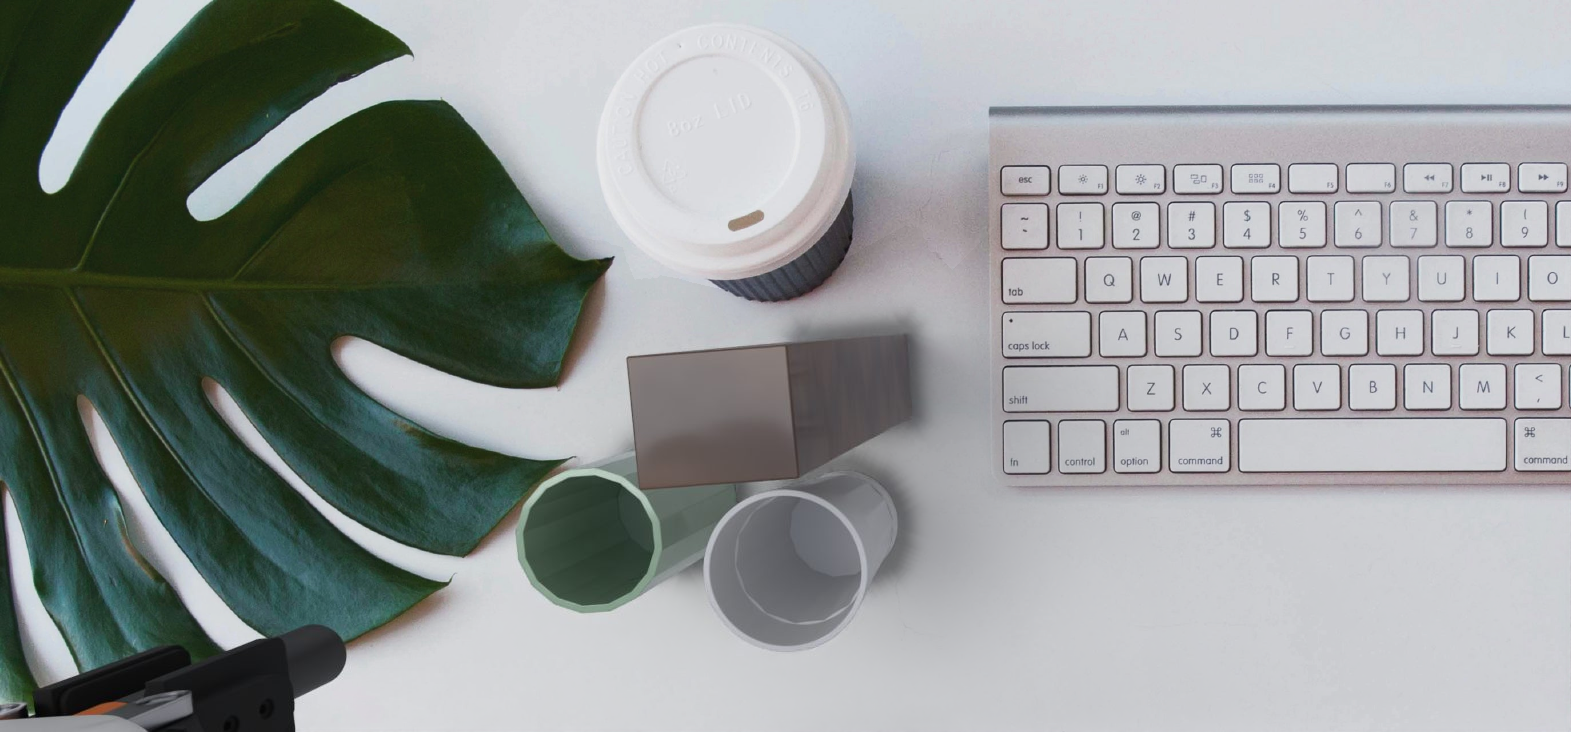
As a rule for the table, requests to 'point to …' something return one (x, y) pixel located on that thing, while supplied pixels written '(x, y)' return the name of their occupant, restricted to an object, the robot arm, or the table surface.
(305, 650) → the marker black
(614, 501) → the glass
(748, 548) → the cup
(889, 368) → the stand
